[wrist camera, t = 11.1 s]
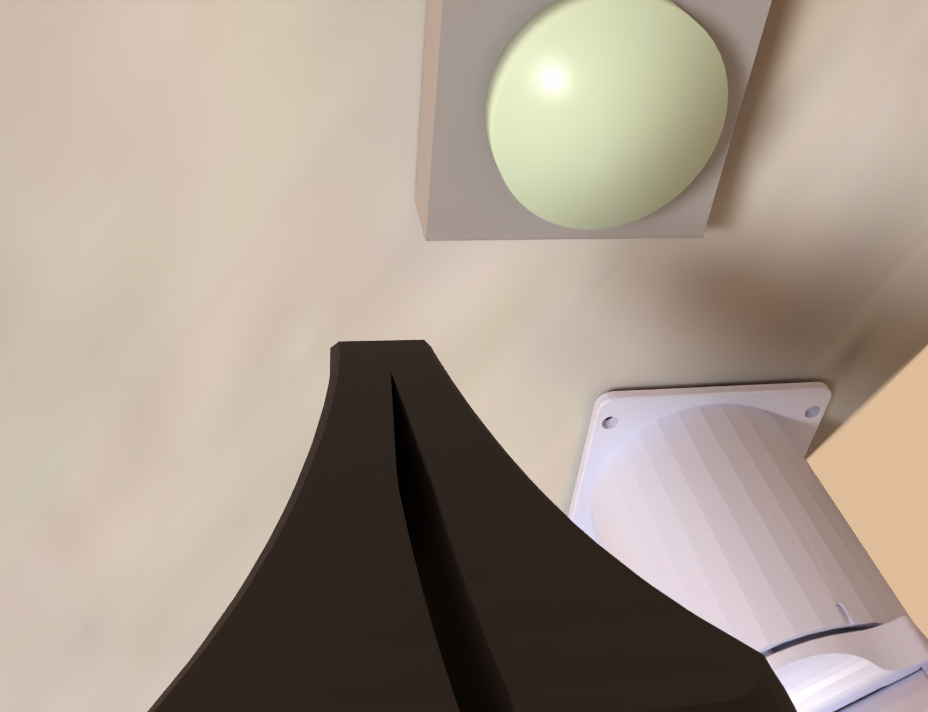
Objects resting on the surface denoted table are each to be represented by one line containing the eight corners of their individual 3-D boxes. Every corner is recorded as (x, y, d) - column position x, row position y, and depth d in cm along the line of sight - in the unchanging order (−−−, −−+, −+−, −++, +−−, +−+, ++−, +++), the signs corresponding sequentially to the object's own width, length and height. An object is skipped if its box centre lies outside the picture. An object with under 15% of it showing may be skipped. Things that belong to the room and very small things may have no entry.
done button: (653, 173, 22) (694, 228, 20) (460, 172, 21) (481, 230, 19) (703, -35, 19) (757, 4, 17) (480, -47, 18) (509, -7, 16)
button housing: (674, 199, 24) (702, 237, 22) (414, 199, 22) (425, 241, 21) (749, -88, 19) (790, -65, 18) (433, -108, 18) (448, -85, 16)
